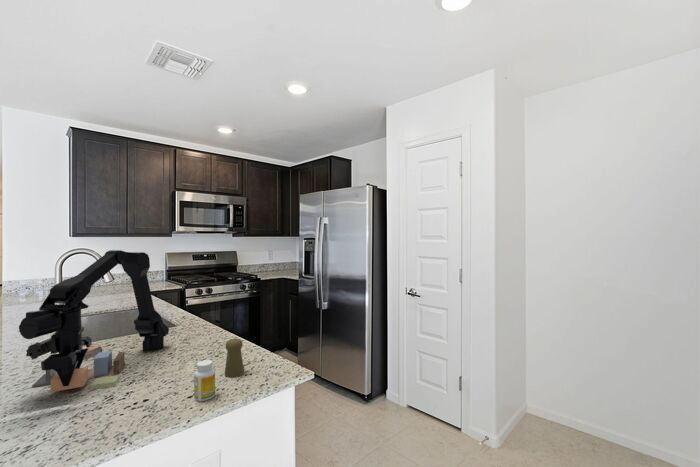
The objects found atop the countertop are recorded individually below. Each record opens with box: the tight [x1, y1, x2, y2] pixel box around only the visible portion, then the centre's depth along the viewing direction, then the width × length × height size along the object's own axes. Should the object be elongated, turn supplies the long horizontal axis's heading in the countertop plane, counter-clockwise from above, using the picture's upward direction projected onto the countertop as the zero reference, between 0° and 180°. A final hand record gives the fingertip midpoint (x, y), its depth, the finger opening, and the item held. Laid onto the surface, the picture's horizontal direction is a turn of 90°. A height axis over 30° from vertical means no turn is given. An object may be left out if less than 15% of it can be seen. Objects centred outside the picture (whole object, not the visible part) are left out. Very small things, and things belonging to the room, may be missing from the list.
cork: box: [224, 338, 245, 378], centre depth 105 cm, size 6×6×11 cm
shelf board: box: [30, 351, 125, 389], centre depth 103 cm, size 22×8×6 cm, turn 115°
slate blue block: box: [93, 350, 113, 376], centre depth 105 cm, size 4×6×6 cm, turn 25°
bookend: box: [31, 369, 57, 388], centre depth 99 cm, size 4×8×5 cm, turn 25°
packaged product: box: [31, 343, 103, 375], centre depth 114 cm, size 18×5×10 cm
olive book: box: [90, 374, 121, 390], centre depth 96 cm, size 6×4×3 cm
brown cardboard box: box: [50, 366, 89, 393], centre depth 93 cm, size 7×6×4 cm
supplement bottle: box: [193, 359, 216, 402], centre depth 91 cm, size 5×5×10 cm
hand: (69, 381), depth 93 cm, fingers closed on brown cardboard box, 6 cm apart
